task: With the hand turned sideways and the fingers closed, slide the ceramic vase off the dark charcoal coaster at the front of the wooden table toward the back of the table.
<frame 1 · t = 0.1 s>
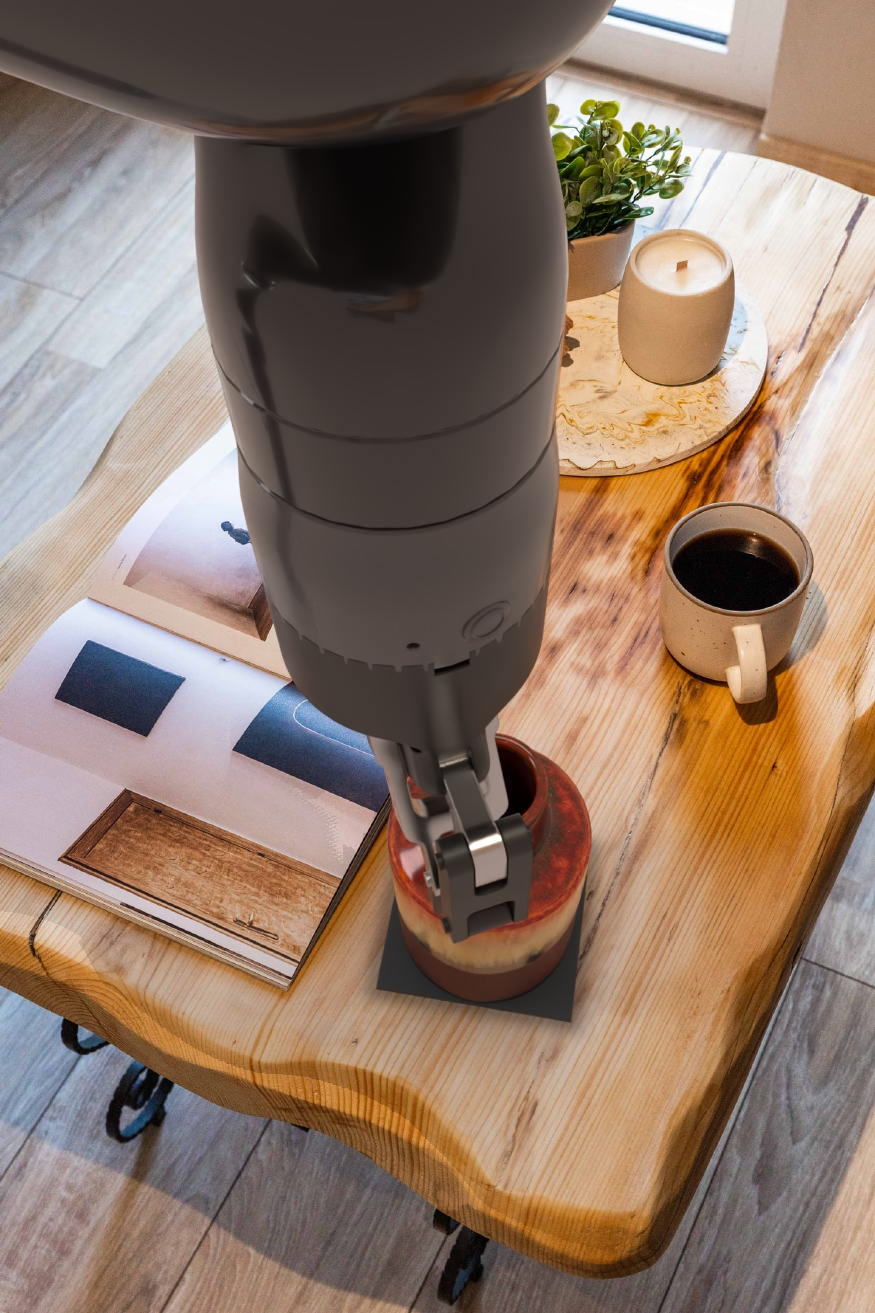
hand: (424, 795, 42), 30 cm above the table, tool pointing down, fingers open, 8 cm apart
vase: (486, 918, 70), resting on coaster
coaster: (486, 918, 70), on the table
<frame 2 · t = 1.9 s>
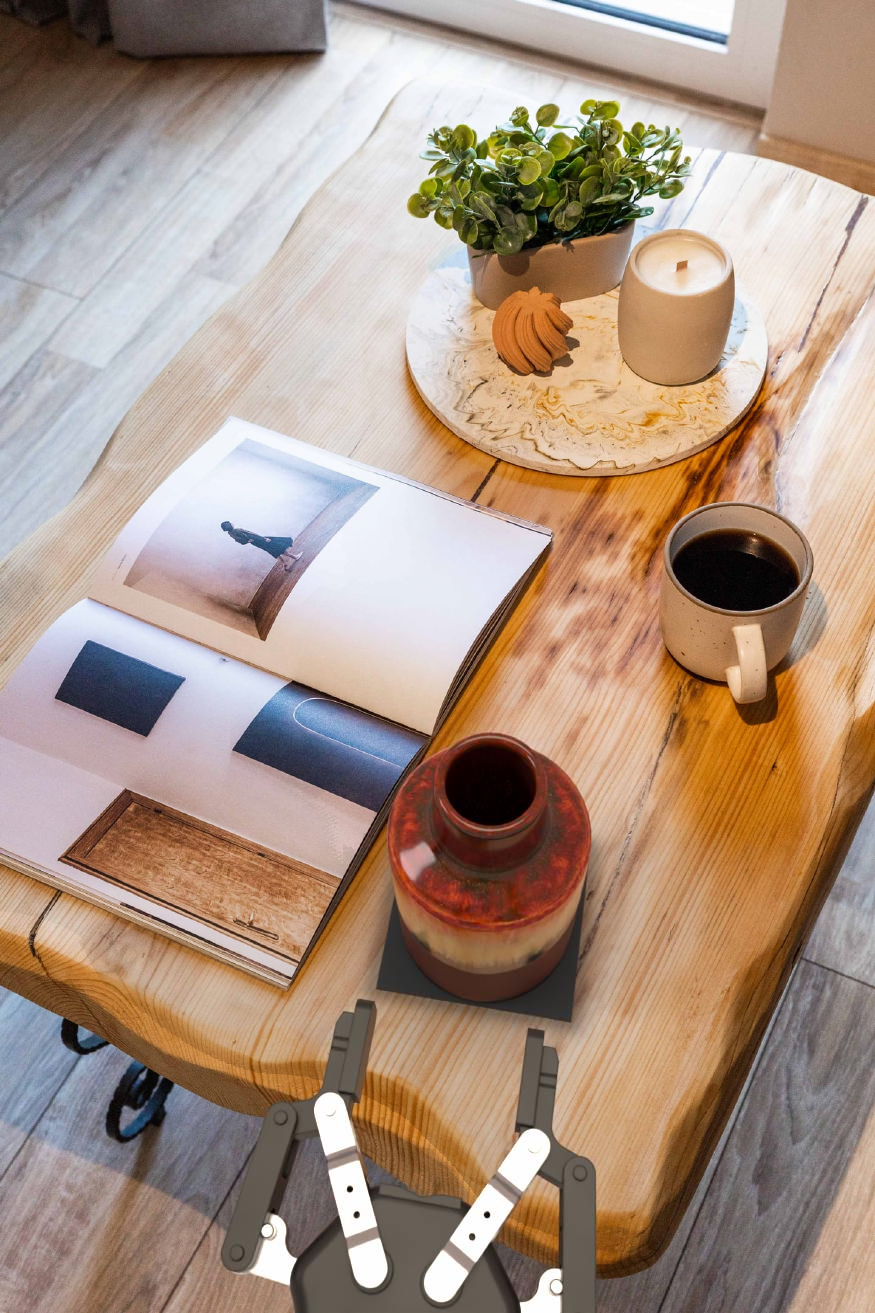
hand: (450, 1019, 46), 22 cm above the table, tool horizontal, fingers open, 6 cm apart
nothing on the table moved.
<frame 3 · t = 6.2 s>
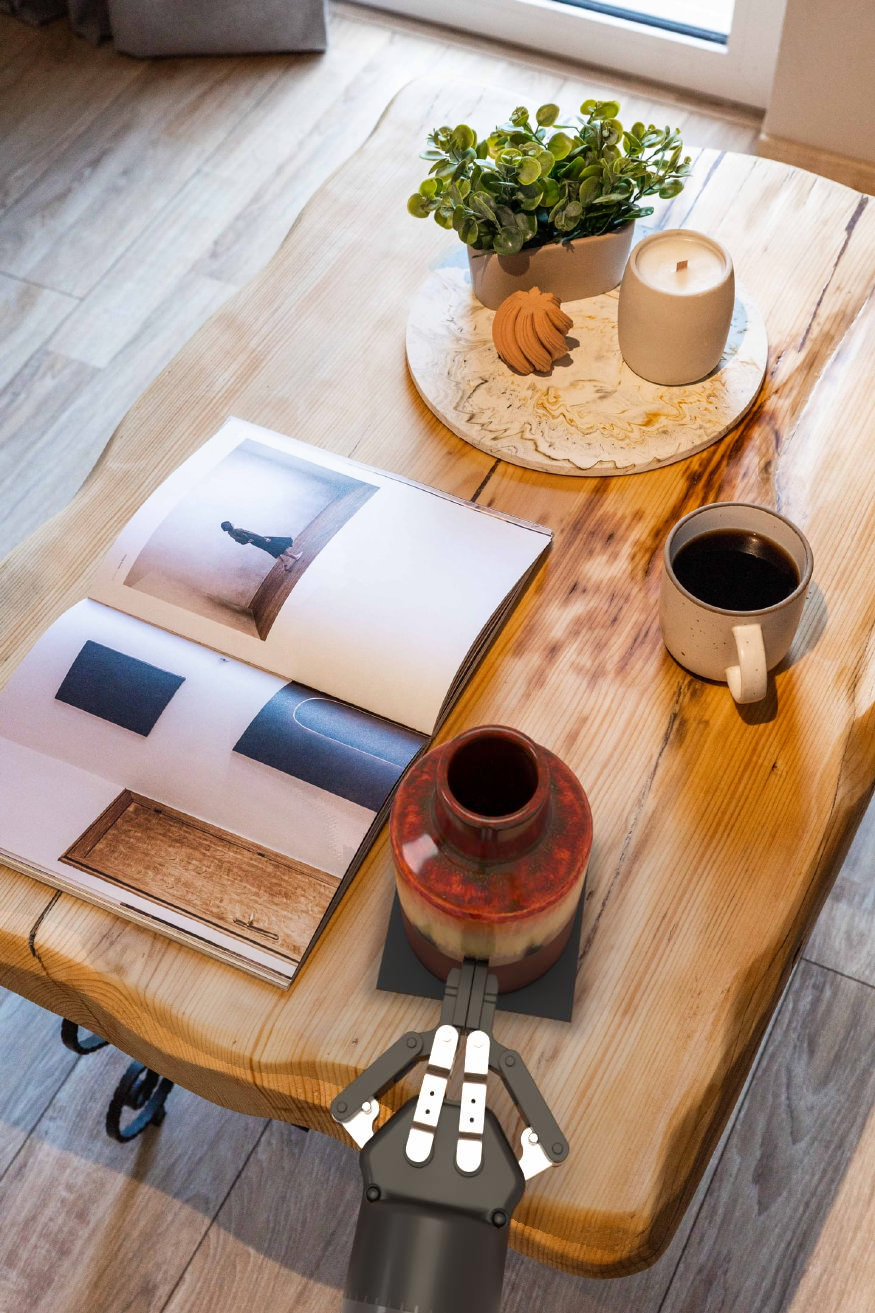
hand: (475, 964, 62), 7 cm above the table, tool horizontal, fingers closed
vase: (487, 912, 71), resting on coaster, touching gripper
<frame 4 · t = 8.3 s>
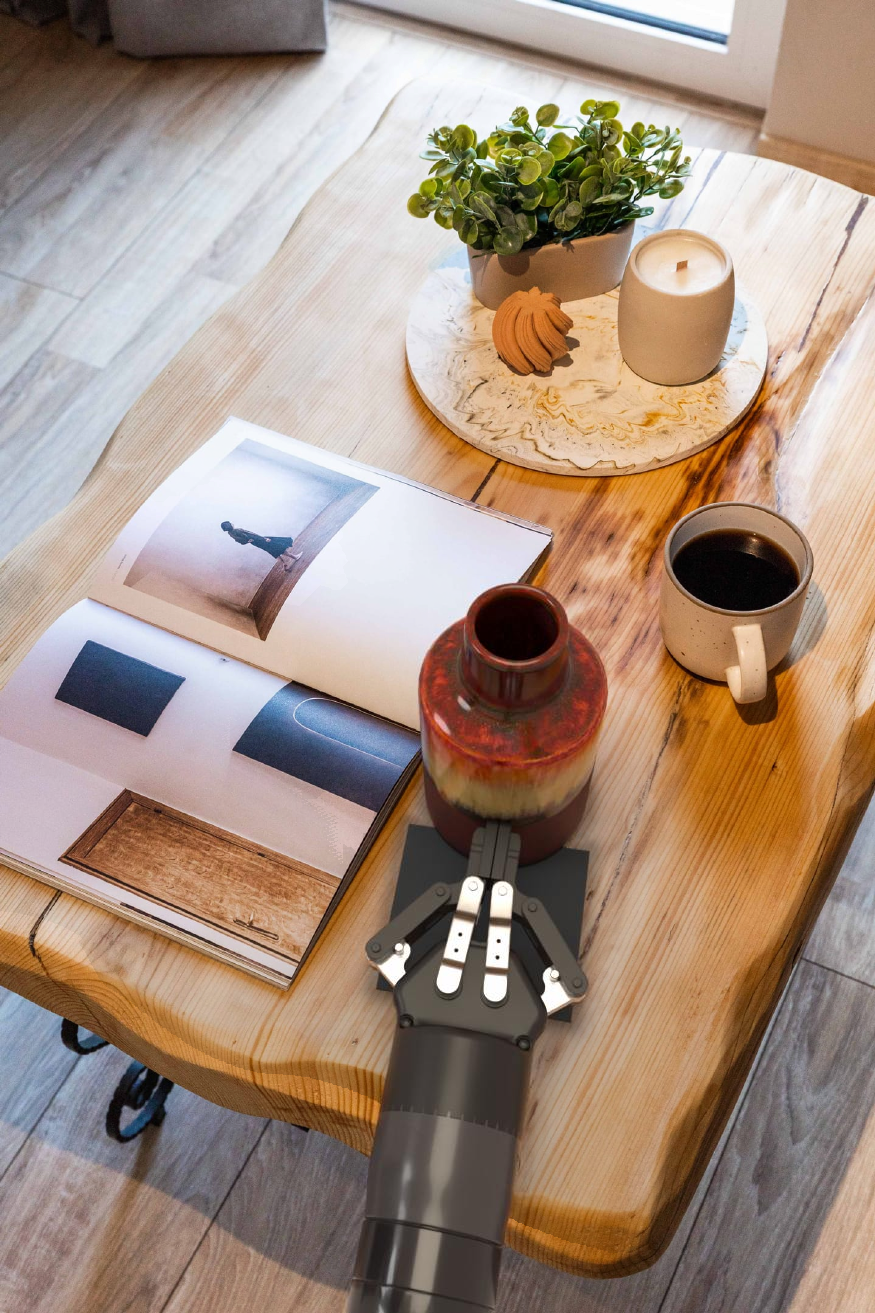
hand: (499, 825, 66), 7 cm above the table, tool horizontal, fingers closed
vase: (505, 795, 75), on the table, touching gripper
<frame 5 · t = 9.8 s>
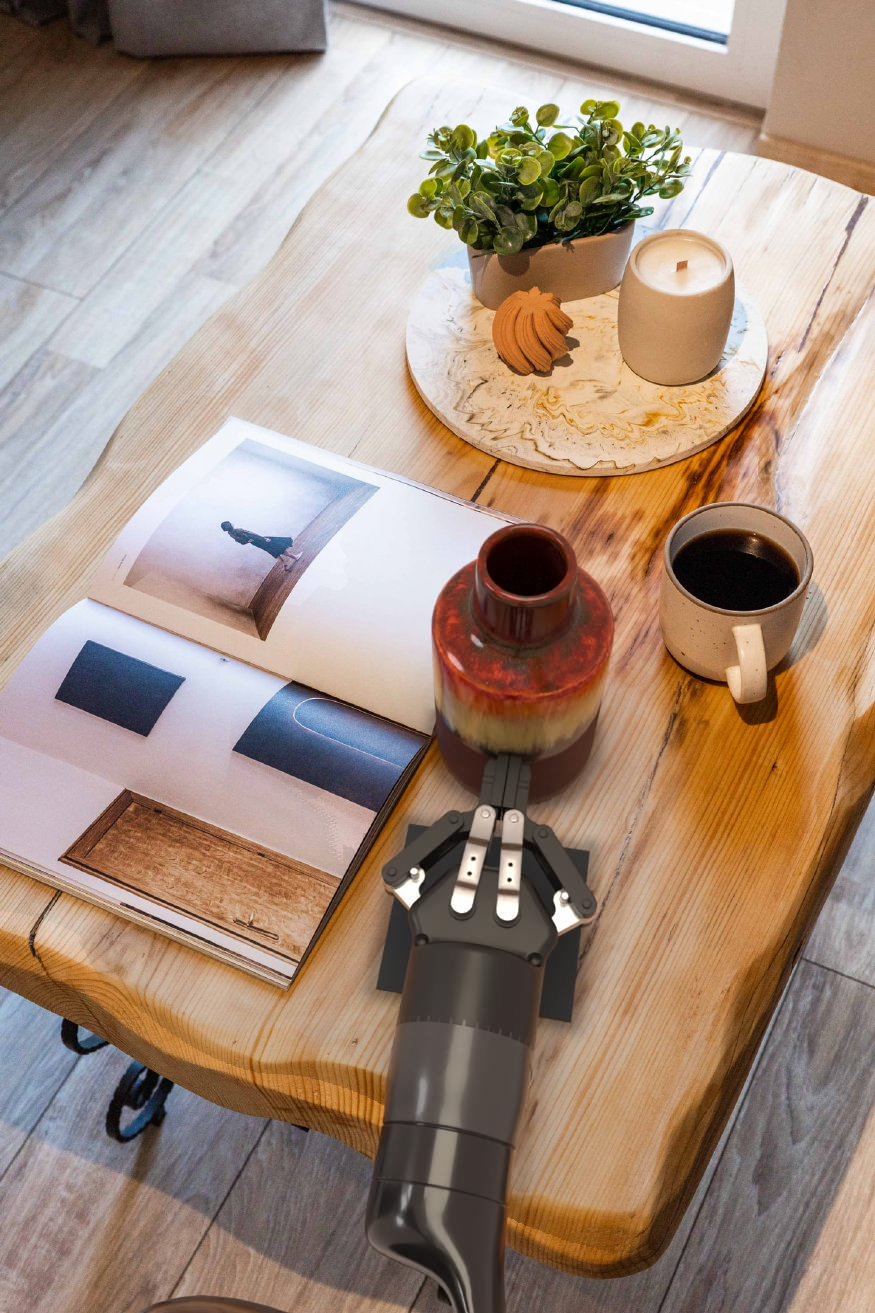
hand: (509, 758, 68), 7 cm above the table, tool horizontal, fingers closed
vase: (514, 736, 77), on the table, touching gripper
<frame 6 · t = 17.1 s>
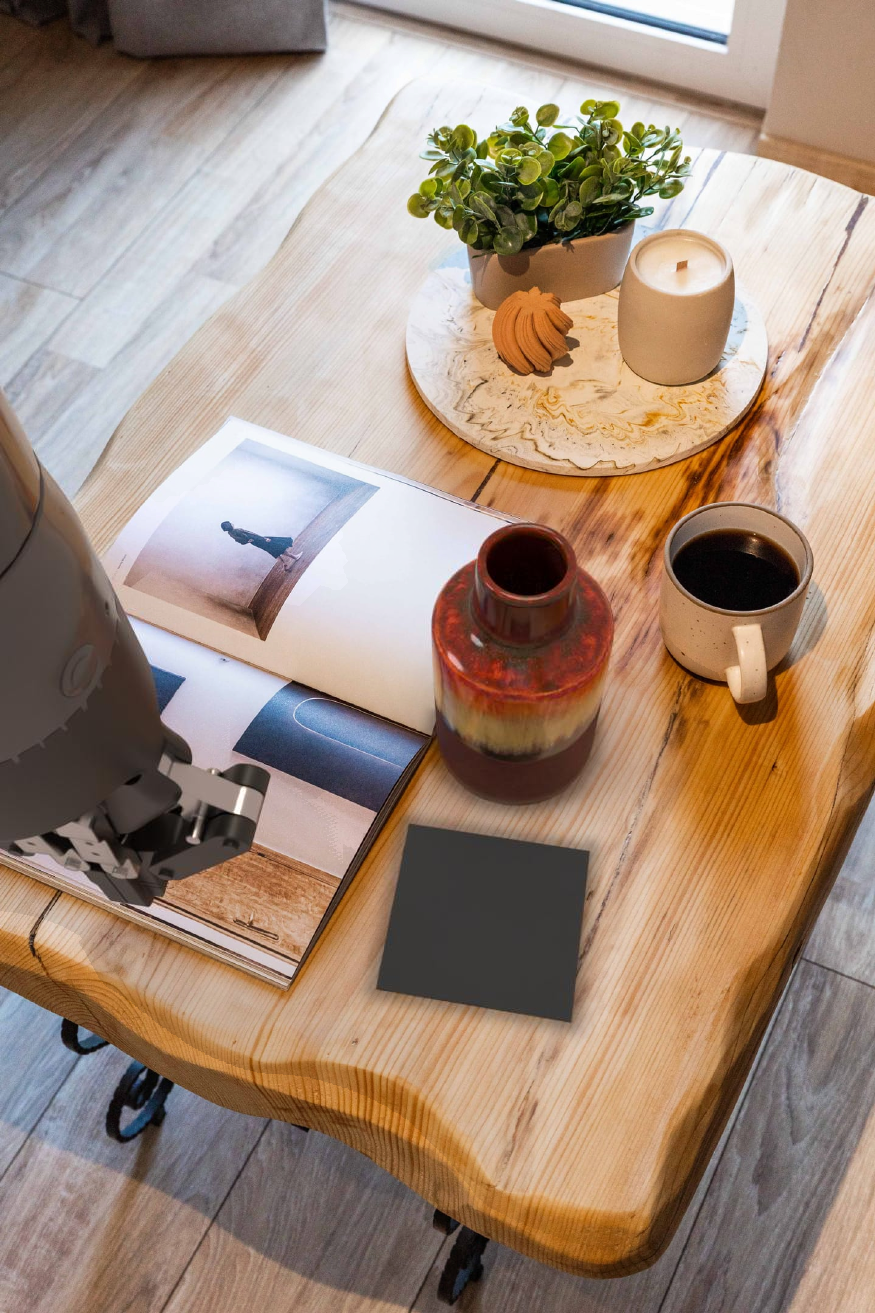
hand: (140, 879, 42), 29 cm above the table, tool pointing down, fingers closed
vase: (514, 735, 77), on the table
at the end: vase inside the target area (0.8 cm from its centre), on the table; vase tilted 0°; vase moved 13.2 cm from its start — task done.
